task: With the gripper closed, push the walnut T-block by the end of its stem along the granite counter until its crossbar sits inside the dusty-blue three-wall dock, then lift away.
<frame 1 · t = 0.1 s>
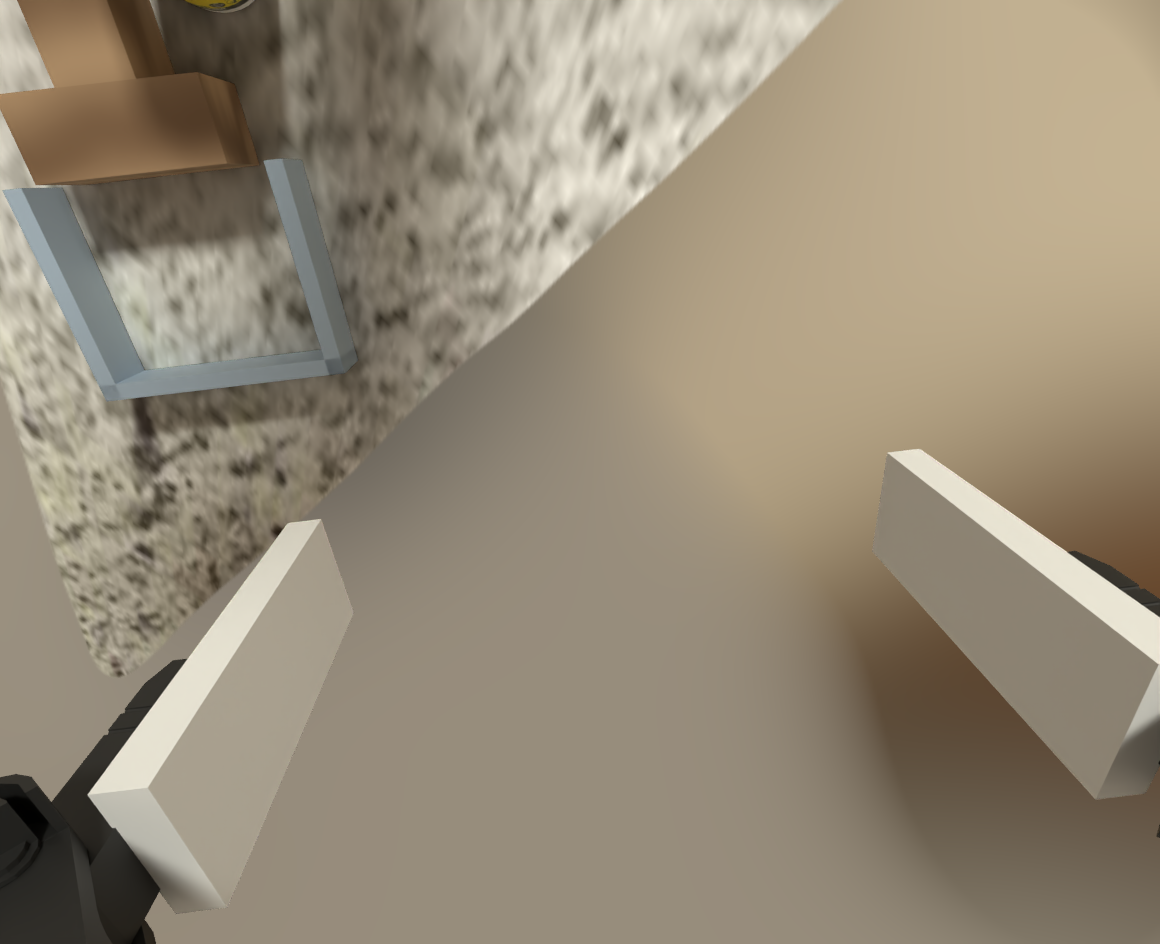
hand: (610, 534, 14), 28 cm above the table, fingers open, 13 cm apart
dock: (213, 281, 37), on the table
t block: (128, 50, 31), on the table
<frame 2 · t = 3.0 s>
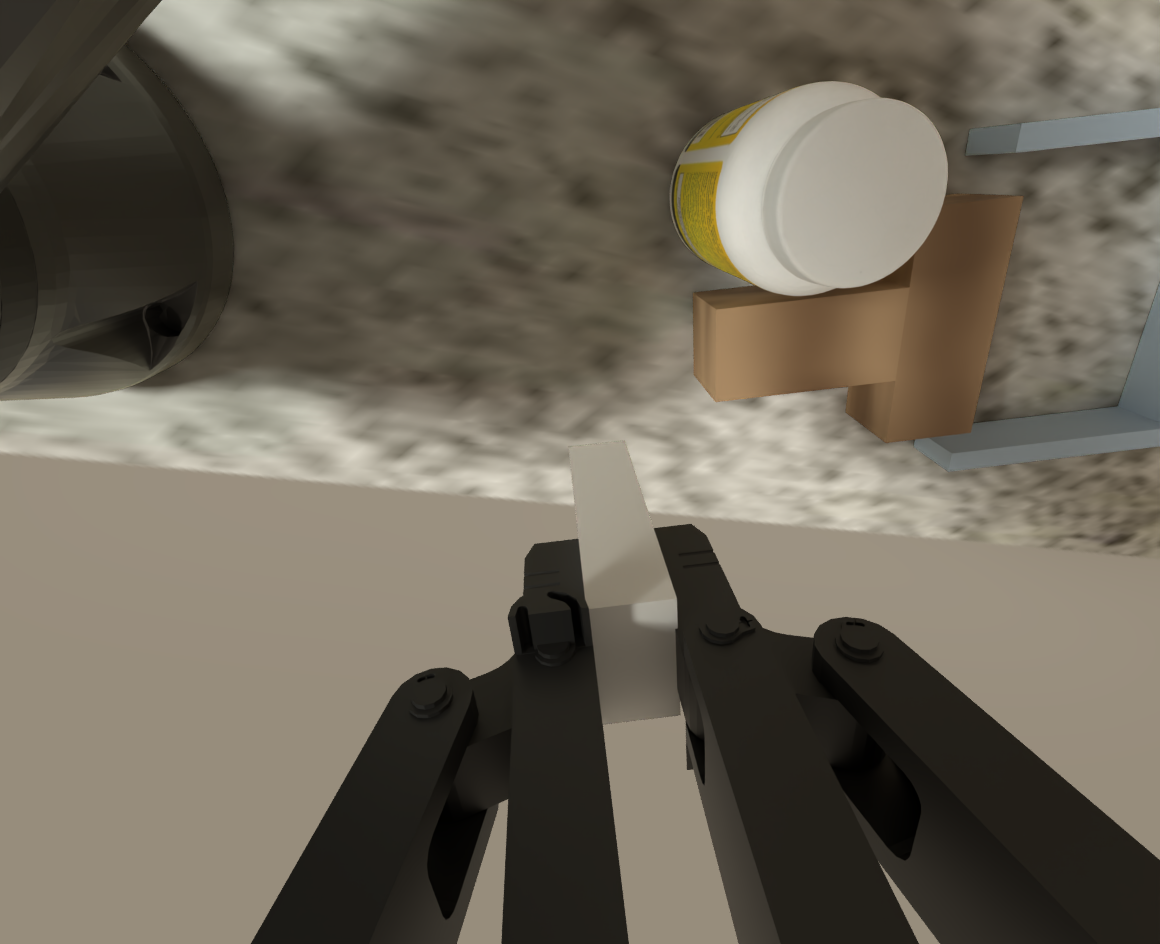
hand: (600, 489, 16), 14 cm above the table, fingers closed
dock: (1059, 293, 28), on the table
pill bottle: (735, 192, 26), on the table
t block: (815, 320, 28), on the table
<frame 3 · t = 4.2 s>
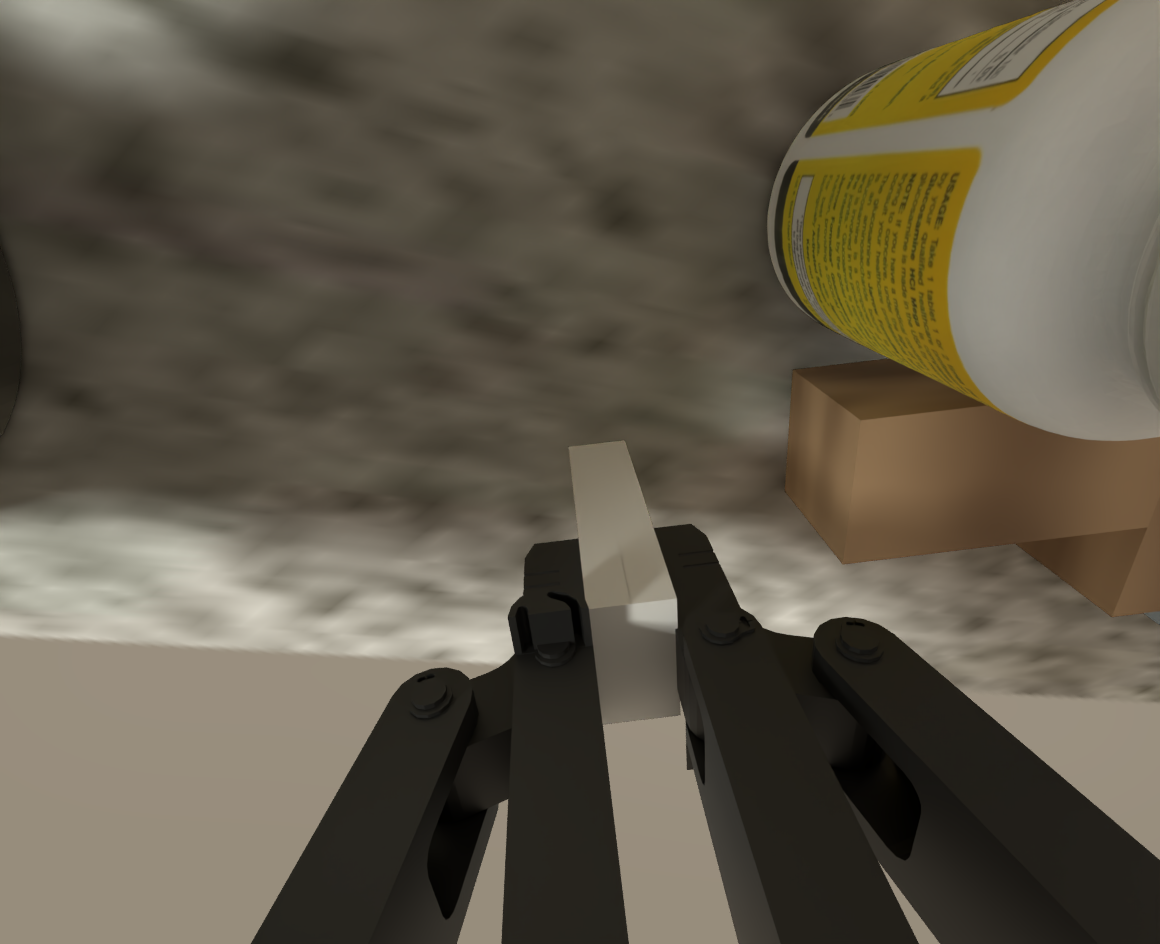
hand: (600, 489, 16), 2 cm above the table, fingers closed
pill bottle: (875, 207, 15), on the table
t block: (982, 410, 18), on the table
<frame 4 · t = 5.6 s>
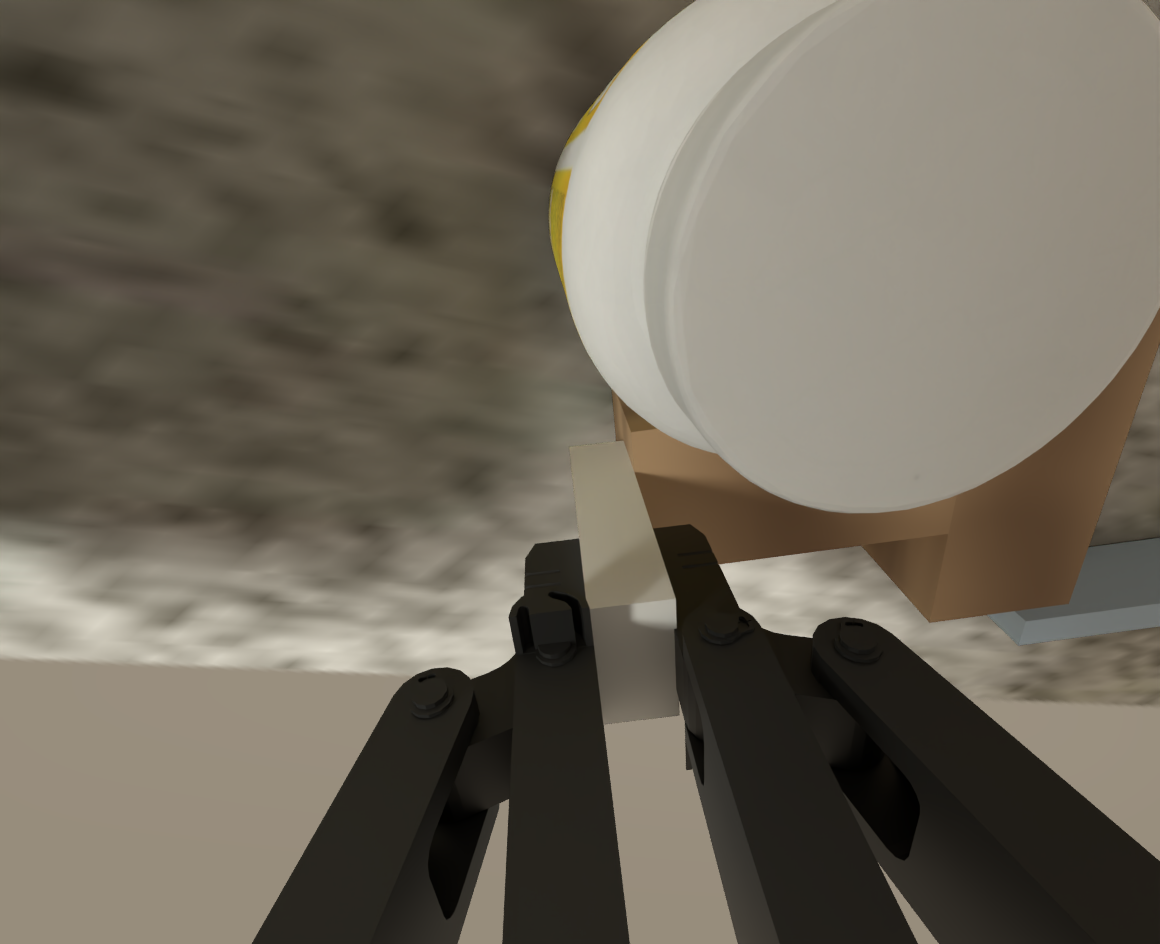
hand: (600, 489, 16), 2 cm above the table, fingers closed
pill bottle: (667, 215, 15), on the table
t block: (812, 415, 18), on the table, touching gripper
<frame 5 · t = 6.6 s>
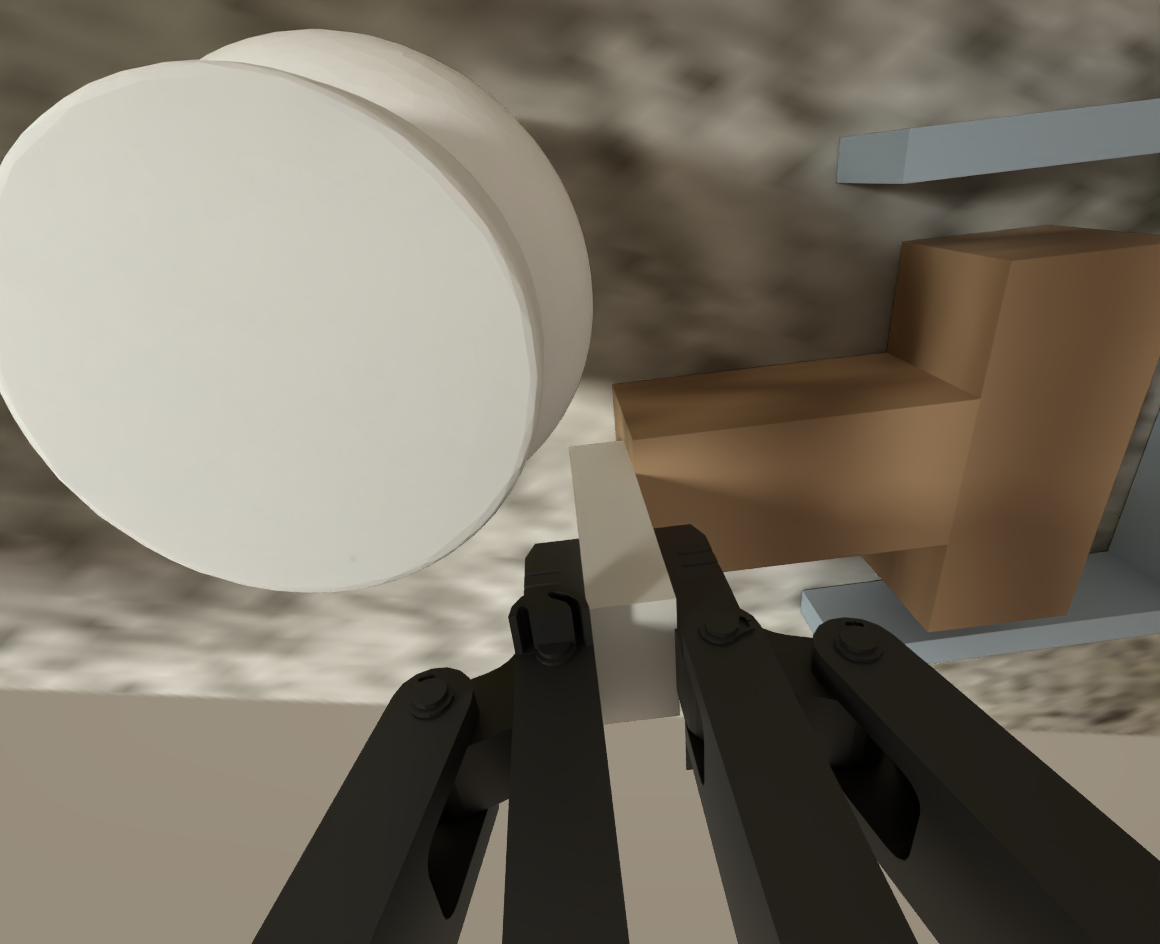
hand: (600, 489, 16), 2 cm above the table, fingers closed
dock: (1011, 396, 18), on the table
pill bottle: (447, 248, 15), on the table
t block: (812, 424, 18), on the table, touching gripper
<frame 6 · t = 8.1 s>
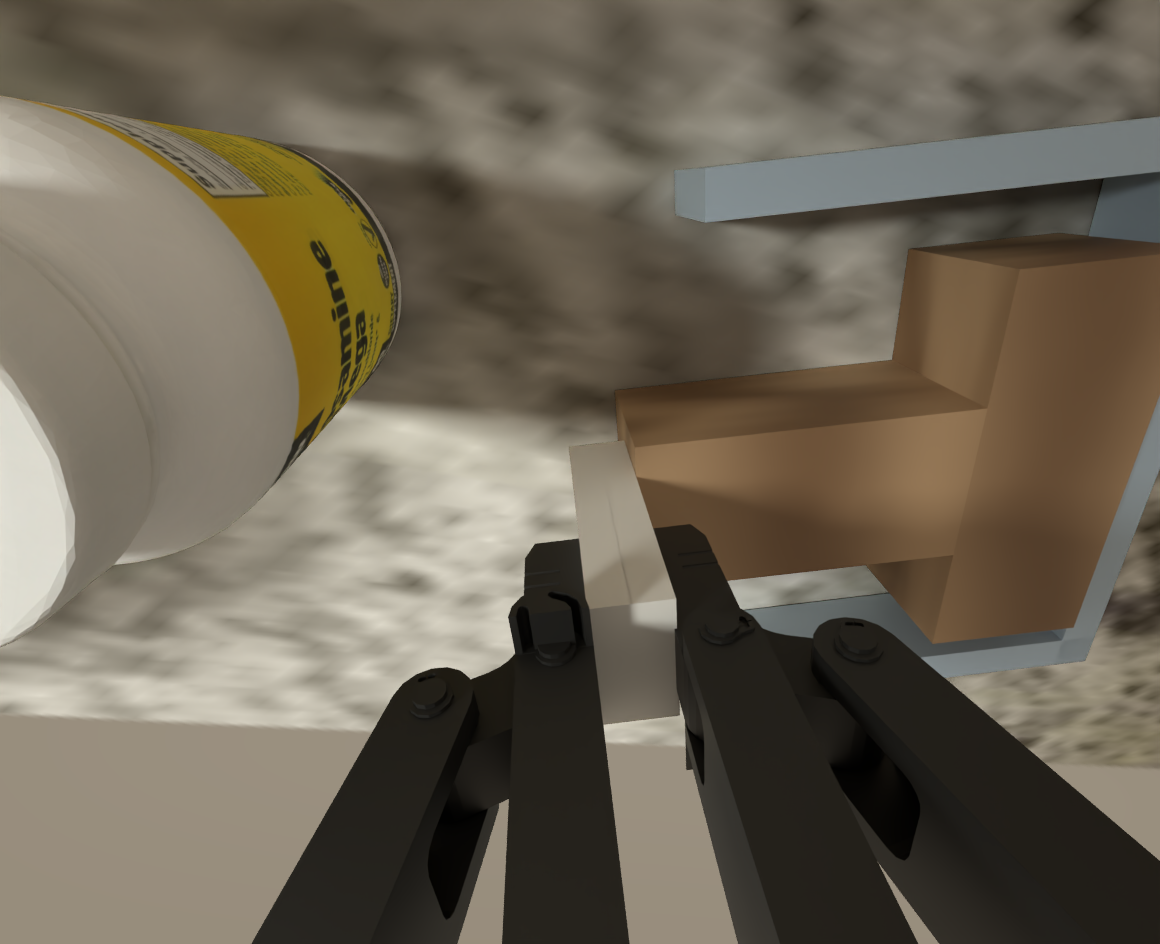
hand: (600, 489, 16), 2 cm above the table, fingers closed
dock: (878, 426, 18), on the table
pill bottle: (286, 276, 15), on the table
t block: (816, 431, 18), on the table, touching gripper
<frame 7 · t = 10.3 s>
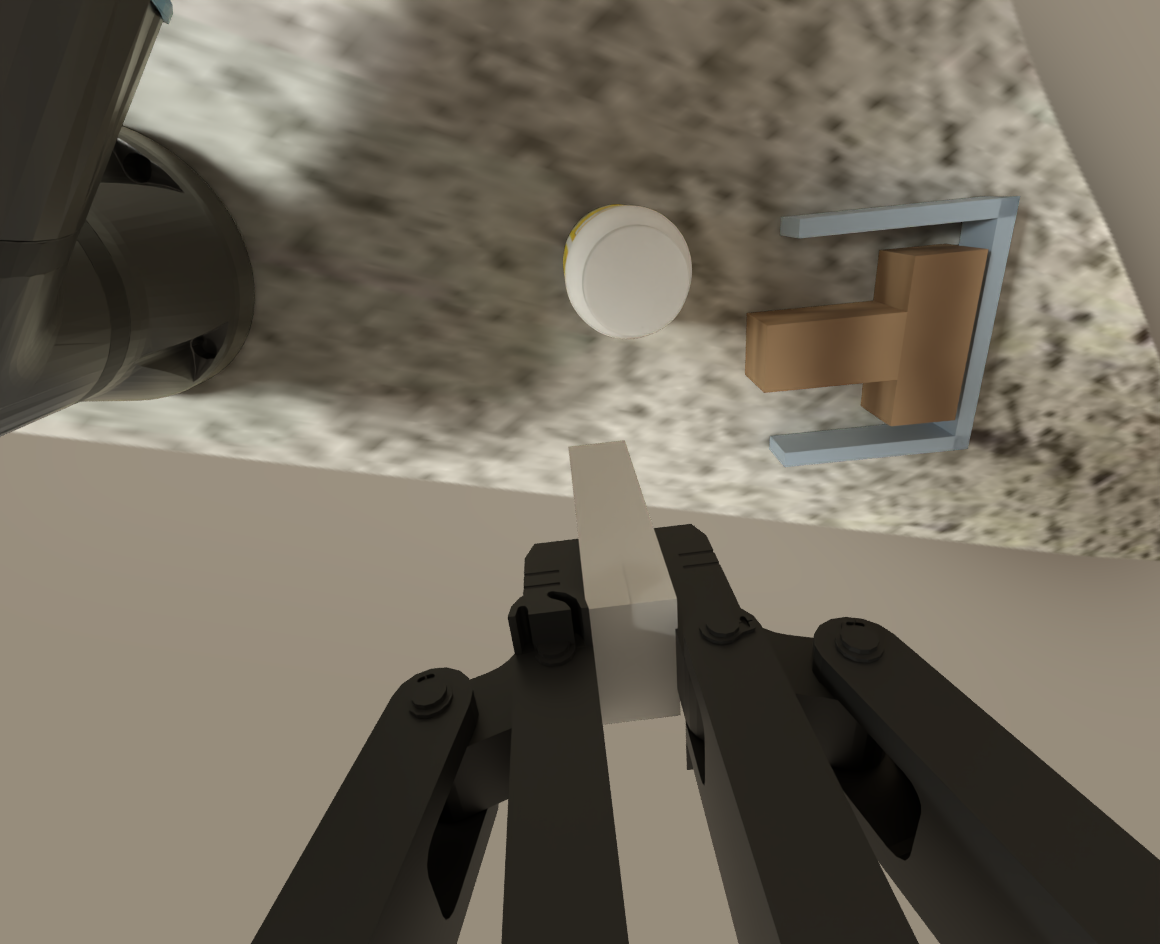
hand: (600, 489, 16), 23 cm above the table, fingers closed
dock: (867, 333, 38), on the table
pill bottle: (613, 259, 36), on the table
t block: (838, 335, 38), on the table
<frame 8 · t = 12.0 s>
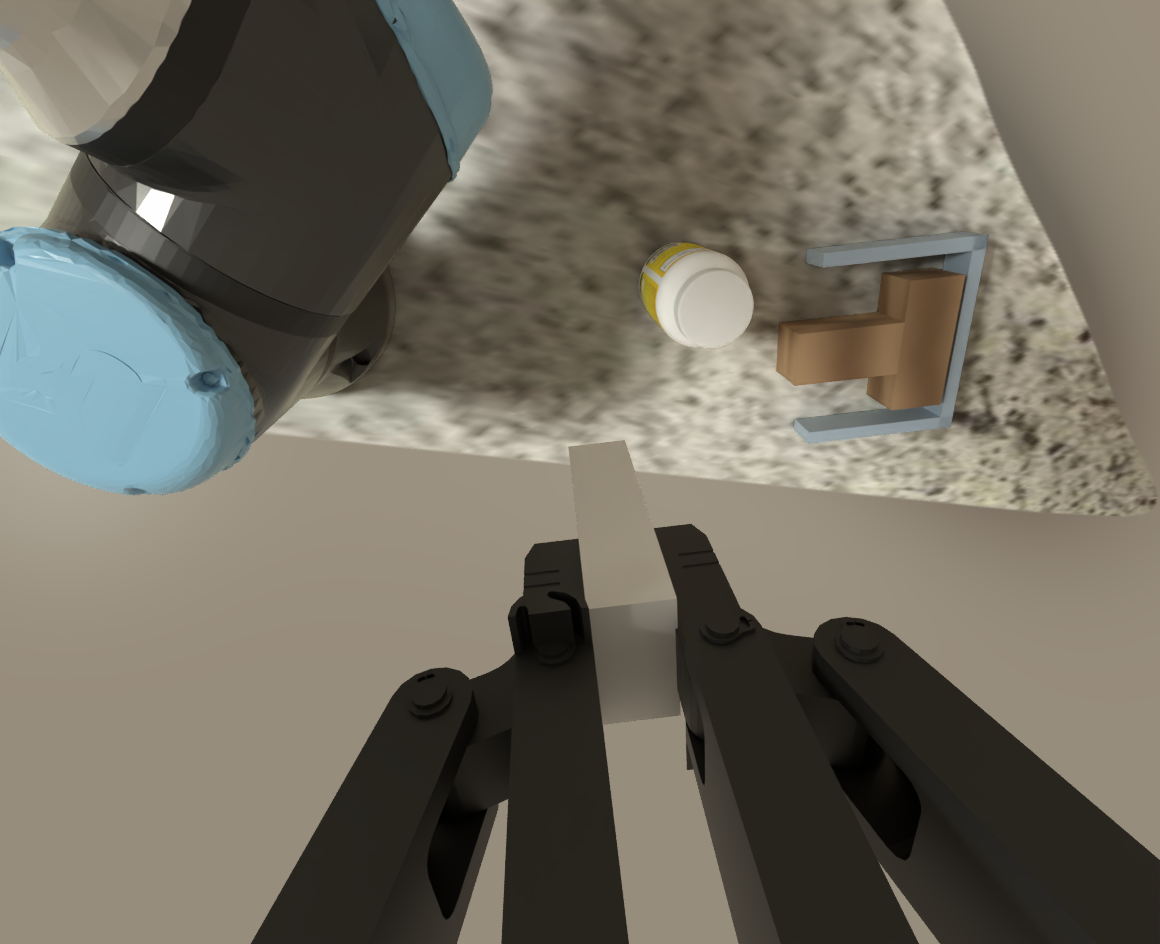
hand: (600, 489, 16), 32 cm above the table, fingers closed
dock: (872, 337, 48), on the table
pill bottle: (676, 282, 45), on the table
t block: (849, 339, 48), on the table
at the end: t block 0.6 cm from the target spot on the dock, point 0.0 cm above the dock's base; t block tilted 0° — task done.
